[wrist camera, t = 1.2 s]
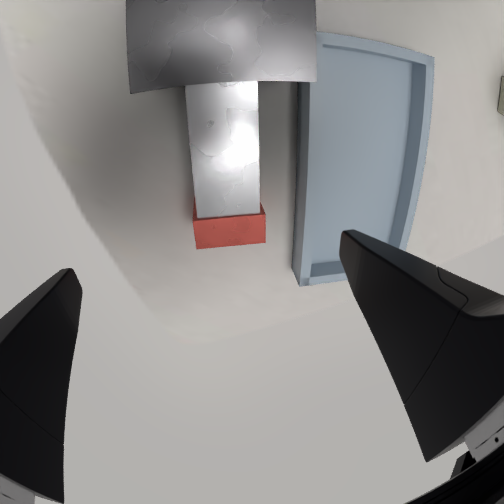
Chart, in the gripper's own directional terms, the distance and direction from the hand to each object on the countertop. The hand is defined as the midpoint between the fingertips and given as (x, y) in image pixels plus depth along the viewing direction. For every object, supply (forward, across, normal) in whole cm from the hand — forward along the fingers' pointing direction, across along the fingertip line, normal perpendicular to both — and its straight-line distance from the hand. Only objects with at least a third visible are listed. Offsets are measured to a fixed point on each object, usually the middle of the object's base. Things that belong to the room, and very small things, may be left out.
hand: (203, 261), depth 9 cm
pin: (+12, -1, -3) cm, 13 cm away
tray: (+12, -11, +1) cm, 17 cm away
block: (+12, -2, -9) cm, 15 cm away
